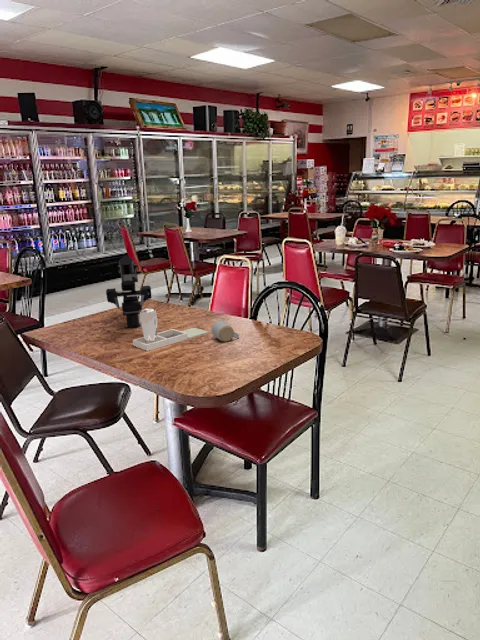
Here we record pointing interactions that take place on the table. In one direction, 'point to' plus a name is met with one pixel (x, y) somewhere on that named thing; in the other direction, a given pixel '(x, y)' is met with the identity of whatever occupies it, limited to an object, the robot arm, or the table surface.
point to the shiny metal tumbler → (149, 325)
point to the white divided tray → (168, 338)
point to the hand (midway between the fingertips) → (130, 307)
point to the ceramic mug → (223, 331)
